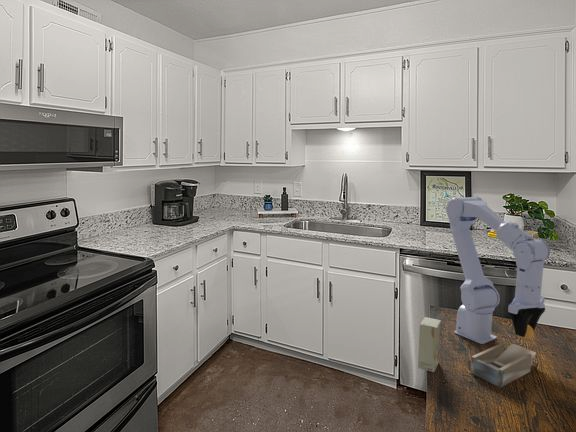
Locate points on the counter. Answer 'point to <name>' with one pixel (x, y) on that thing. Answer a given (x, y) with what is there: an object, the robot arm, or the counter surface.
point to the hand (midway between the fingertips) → (524, 333)
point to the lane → (502, 364)
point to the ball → (528, 333)
